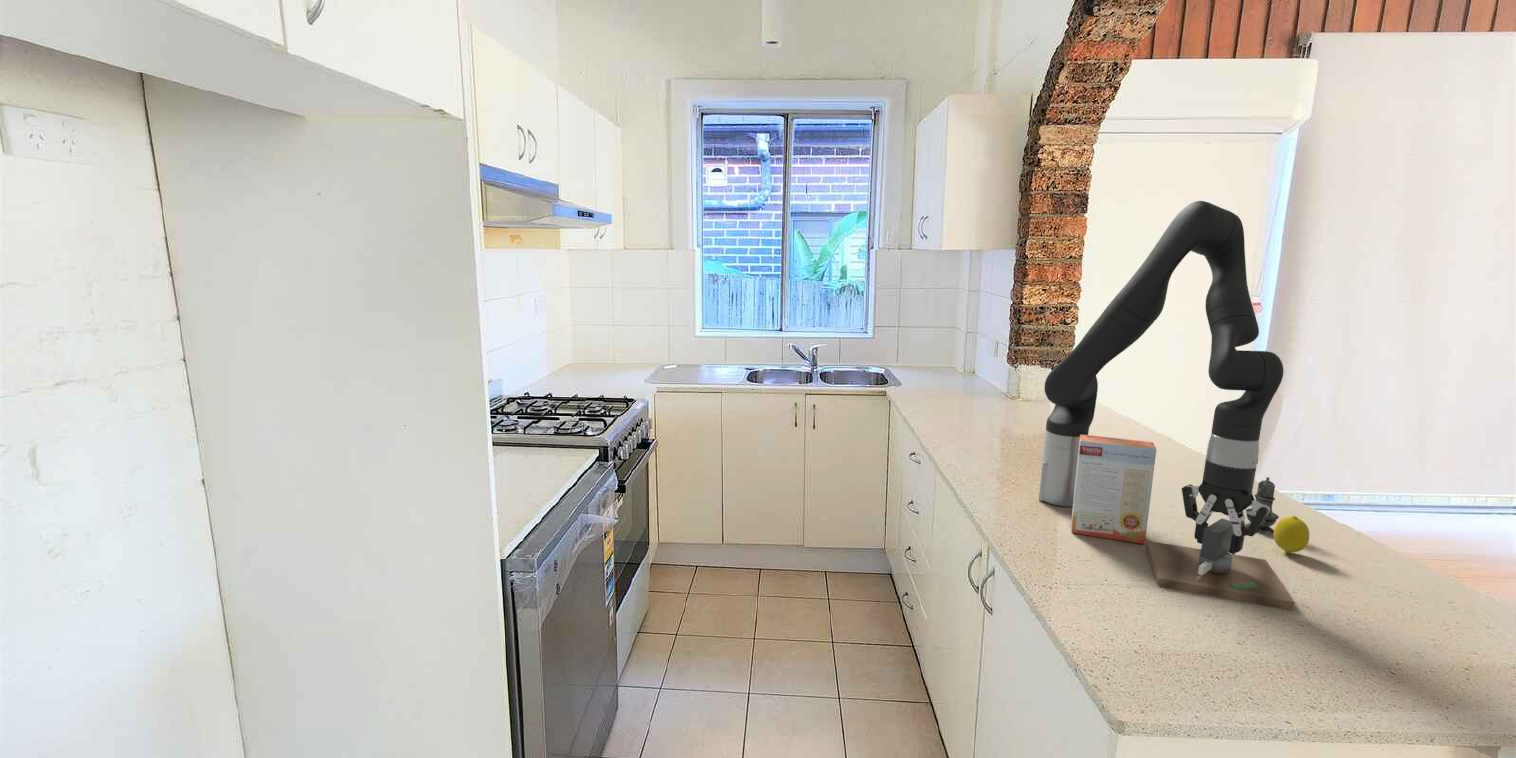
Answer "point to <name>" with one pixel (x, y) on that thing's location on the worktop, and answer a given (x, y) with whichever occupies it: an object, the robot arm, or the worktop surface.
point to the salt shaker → (1265, 498)
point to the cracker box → (1113, 488)
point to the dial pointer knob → (1216, 548)
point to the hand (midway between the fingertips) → (1217, 547)
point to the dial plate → (1218, 576)
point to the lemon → (1291, 534)
